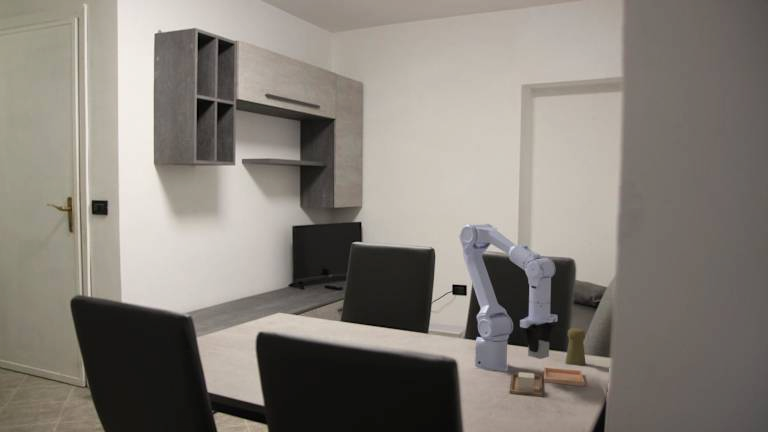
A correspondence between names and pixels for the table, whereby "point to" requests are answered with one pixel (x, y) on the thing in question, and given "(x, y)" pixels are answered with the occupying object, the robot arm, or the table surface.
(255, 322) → the table surface
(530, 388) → the cream pedestal cube
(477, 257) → the robot arm
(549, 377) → the terracotta dish
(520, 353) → the table surface
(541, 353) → the slate gray cube
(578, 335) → the cork
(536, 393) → the walnut tray
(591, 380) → the table surface
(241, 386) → the table surface
